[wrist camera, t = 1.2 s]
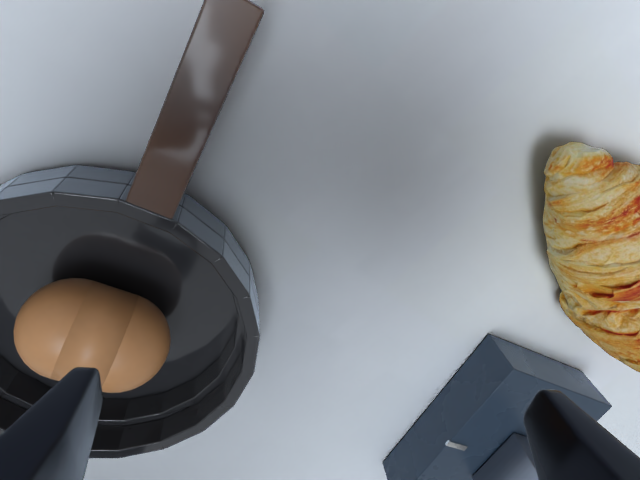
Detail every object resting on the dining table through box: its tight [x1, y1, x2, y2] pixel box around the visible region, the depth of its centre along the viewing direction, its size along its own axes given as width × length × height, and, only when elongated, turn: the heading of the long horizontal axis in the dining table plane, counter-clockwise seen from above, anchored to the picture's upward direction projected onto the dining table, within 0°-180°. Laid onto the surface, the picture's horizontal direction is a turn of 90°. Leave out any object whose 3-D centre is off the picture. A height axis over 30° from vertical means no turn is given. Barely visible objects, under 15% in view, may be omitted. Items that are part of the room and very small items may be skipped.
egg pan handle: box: [126, 0, 264, 219], centre depth 17 cm, size 8×2×1 cm, turn 151°
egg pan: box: [0, 165, 260, 458], centre depth 22 cm, size 14×14×4 cm
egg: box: [14, 278, 171, 393], centre depth 21 cm, size 4×6×4 cm
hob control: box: [383, 334, 612, 480], centre depth 30 cm, size 12×8×3 cm
